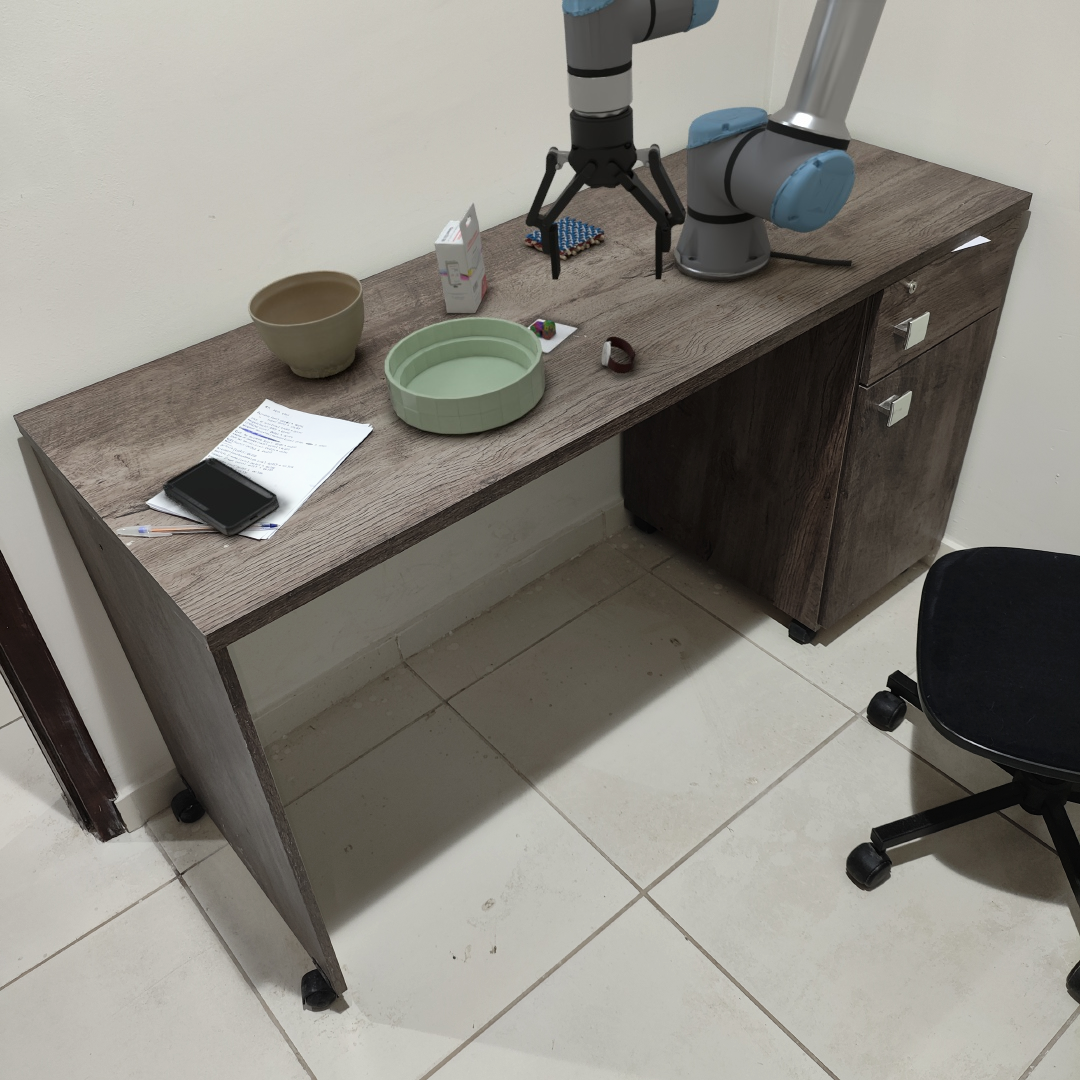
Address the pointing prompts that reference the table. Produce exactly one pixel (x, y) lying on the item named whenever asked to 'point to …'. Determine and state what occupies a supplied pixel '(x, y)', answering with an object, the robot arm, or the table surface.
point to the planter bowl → (311, 320)
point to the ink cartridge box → (461, 264)
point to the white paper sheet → (550, 333)
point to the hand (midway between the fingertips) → (607, 275)
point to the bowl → (465, 375)
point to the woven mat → (569, 237)
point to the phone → (221, 496)
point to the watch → (623, 346)
